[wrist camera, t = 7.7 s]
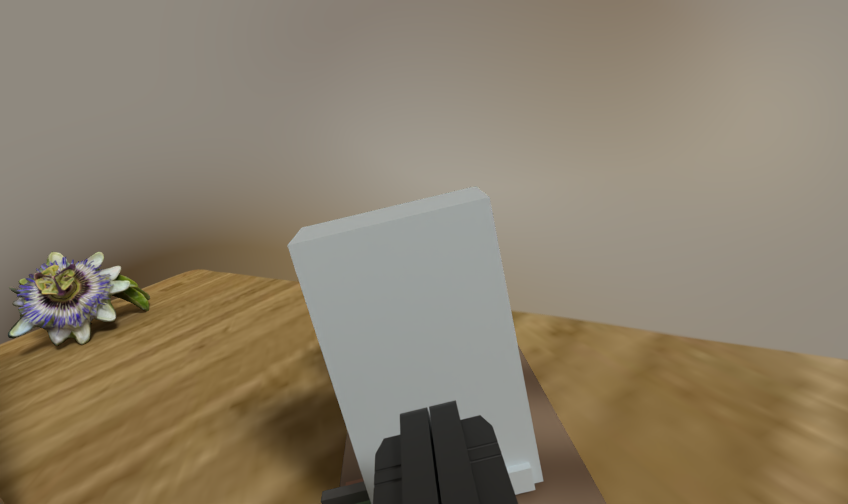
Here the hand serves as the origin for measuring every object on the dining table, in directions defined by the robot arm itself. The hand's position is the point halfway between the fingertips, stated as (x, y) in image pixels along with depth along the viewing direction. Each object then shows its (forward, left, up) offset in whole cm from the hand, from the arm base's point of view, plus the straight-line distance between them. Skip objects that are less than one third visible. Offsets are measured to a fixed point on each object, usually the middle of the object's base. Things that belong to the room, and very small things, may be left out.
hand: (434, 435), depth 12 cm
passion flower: (-57, +8, -8) cm, 58 cm away
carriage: (-6, +5, -6) cm, 10 cm away
